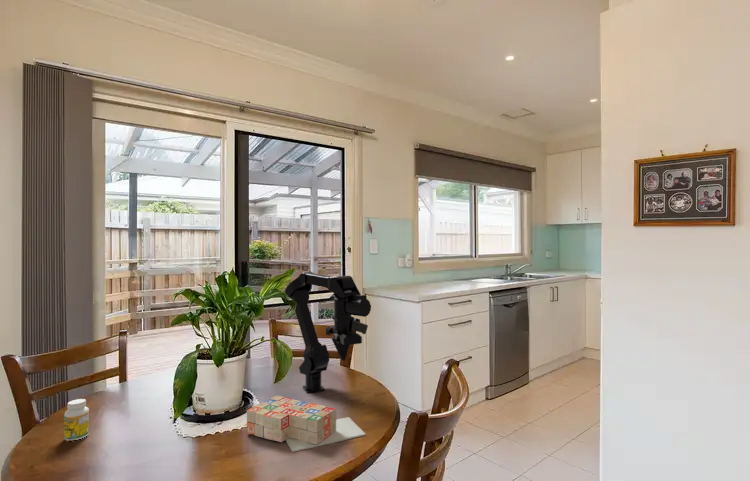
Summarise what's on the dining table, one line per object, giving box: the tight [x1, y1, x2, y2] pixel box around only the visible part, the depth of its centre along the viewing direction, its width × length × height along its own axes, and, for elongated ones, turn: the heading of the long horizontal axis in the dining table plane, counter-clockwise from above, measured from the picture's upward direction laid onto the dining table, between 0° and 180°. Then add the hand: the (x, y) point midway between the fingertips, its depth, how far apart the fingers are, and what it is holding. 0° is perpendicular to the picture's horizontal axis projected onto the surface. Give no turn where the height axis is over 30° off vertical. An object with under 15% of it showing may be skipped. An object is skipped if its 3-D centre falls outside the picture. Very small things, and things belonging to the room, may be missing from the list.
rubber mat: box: [285, 416, 367, 453], centre depth 109 cm, size 12×20×1 cm, turn 116°
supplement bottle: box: [63, 398, 90, 441], centre depth 108 cm, size 5×5×10 cm
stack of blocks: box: [246, 395, 337, 445], centre depth 110 cm, size 21×6×12 cm
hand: (343, 360), depth 134 cm, fingers closed
